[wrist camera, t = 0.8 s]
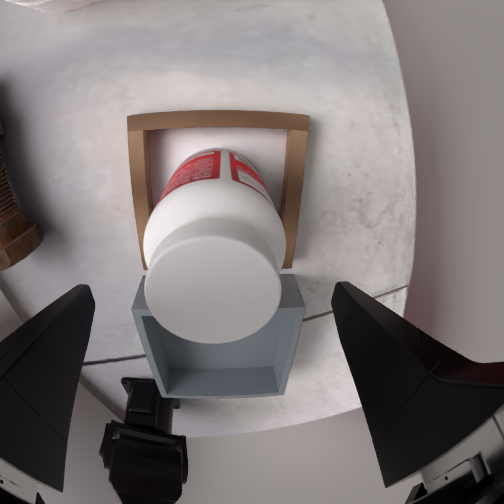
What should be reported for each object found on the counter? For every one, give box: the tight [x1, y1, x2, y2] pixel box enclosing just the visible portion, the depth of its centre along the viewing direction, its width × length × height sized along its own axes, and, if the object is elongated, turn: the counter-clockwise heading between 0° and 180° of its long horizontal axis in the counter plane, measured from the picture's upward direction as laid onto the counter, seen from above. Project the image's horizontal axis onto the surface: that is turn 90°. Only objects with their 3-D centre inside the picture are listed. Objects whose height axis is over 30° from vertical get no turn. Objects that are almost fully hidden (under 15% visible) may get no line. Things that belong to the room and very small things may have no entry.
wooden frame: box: [127, 110, 309, 270], centre depth 18 cm, size 11×11×1 cm
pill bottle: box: [143, 148, 286, 344], centre depth 14 cm, size 6×6×11 cm
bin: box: [131, 274, 305, 399], centre depth 23 cm, size 12×12×4 cm
